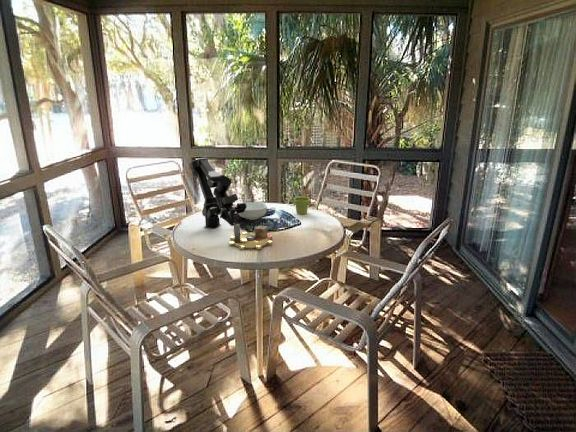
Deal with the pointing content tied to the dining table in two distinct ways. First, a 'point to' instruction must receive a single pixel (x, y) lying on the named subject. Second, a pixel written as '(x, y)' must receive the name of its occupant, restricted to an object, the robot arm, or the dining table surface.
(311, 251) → the dining table surface
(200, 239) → the dining table surface
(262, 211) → the cereal bowl
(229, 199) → the robot arm
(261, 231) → the block
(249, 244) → the sprocket
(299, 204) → the plant pot
